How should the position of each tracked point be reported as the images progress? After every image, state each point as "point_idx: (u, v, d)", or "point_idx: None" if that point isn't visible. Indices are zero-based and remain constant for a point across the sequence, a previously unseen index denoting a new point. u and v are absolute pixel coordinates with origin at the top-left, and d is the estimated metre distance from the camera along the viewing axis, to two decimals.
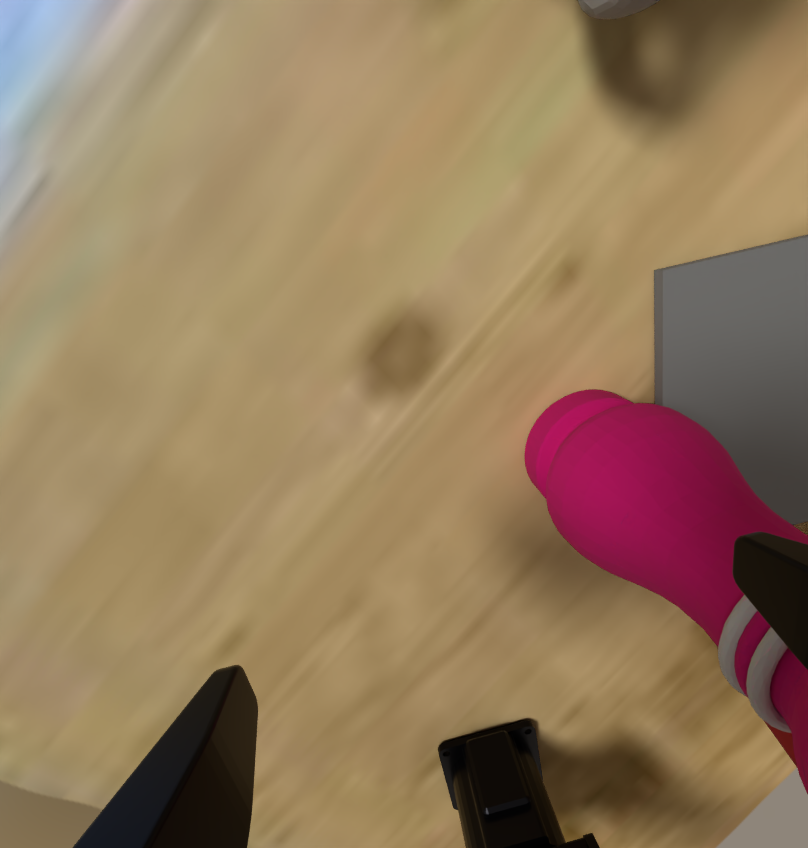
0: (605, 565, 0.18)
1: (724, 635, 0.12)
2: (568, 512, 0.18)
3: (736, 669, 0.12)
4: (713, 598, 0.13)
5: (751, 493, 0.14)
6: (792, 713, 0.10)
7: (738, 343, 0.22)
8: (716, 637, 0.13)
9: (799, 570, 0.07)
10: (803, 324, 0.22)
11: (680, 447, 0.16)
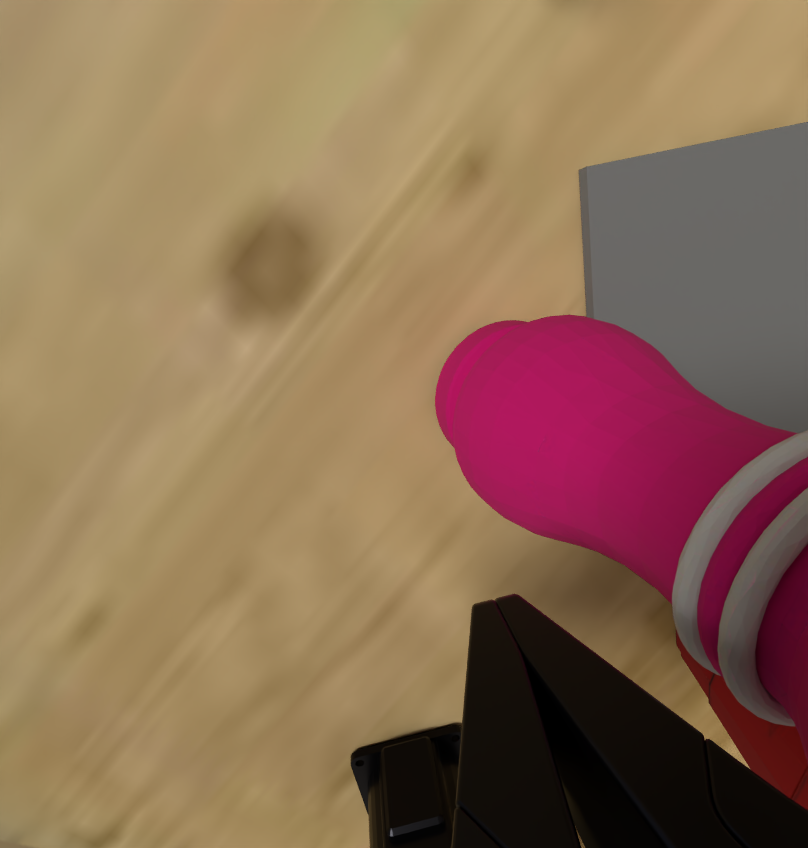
0: (525, 520, 0.13)
1: (680, 575, 0.07)
2: (476, 453, 0.14)
3: (700, 627, 0.07)
4: (661, 527, 0.08)
5: (704, 395, 0.11)
6: (798, 688, 0.06)
7: (684, 265, 0.18)
8: (668, 587, 0.08)
9: (517, 643, 0.07)
10: (762, 244, 0.18)
11: (611, 349, 0.12)
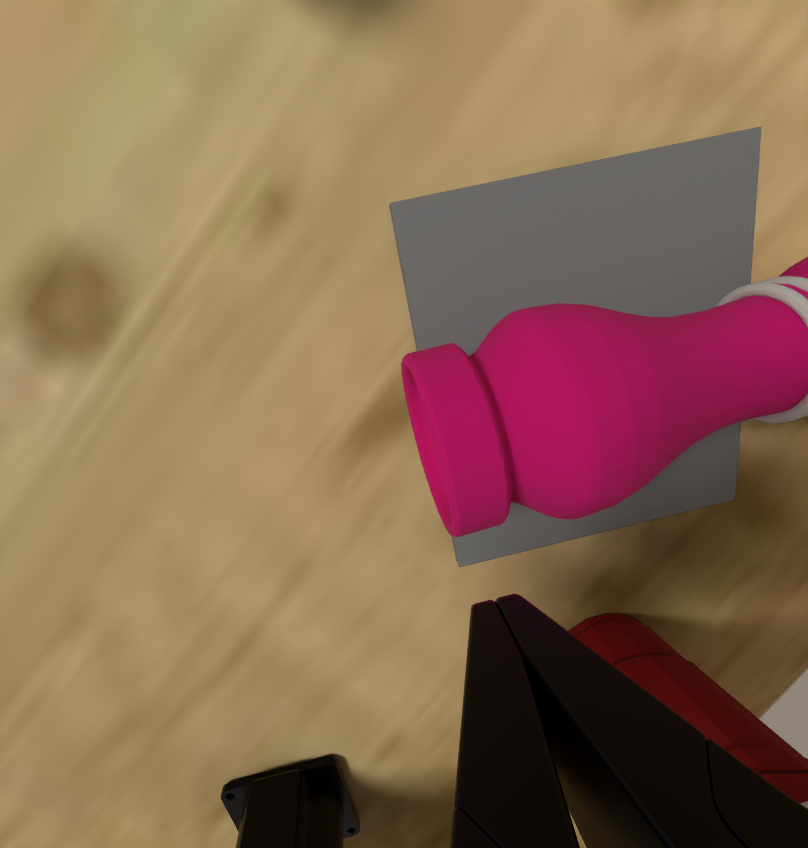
0: (667, 461, 0.14)
1: None
2: (645, 416, 0.12)
3: None
4: (784, 347, 0.14)
5: None
6: None
7: (509, 300, 0.18)
8: (795, 380, 0.14)
9: (518, 643, 0.07)
10: (591, 278, 0.18)
11: None
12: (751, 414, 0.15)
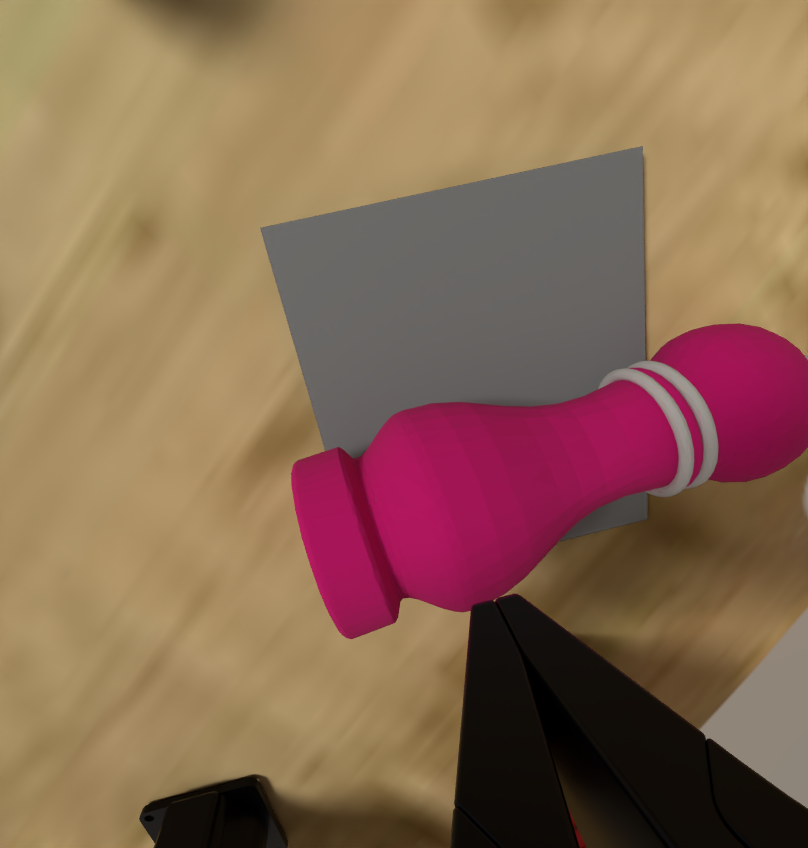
0: None
1: (686, 484, 0.15)
2: (515, 583, 0.14)
3: (685, 487, 0.16)
4: (652, 479, 0.15)
5: (550, 409, 0.16)
6: (724, 468, 0.16)
7: (393, 324, 0.17)
8: (648, 490, 0.16)
9: (518, 643, 0.07)
10: (477, 301, 0.17)
11: (512, 437, 0.14)
12: None
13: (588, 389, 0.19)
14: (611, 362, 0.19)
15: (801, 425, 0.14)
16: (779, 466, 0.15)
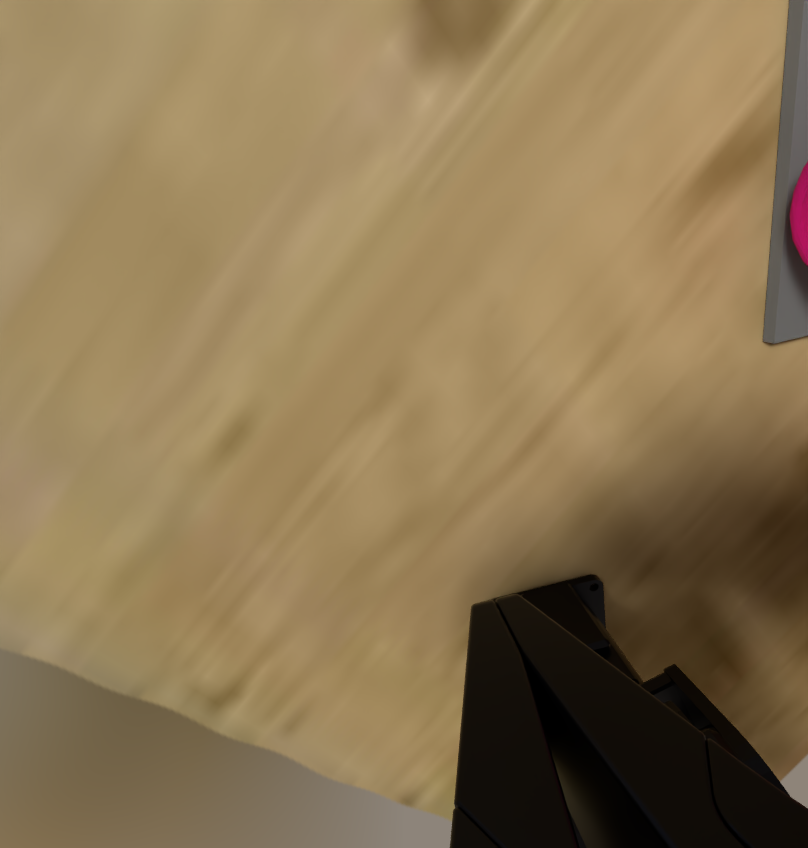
0: None
1: None
2: None
3: None
4: None
5: None
6: None
7: None
8: None
9: (518, 643, 0.07)
10: None
11: None
12: None
13: None
14: None
15: None
16: None
